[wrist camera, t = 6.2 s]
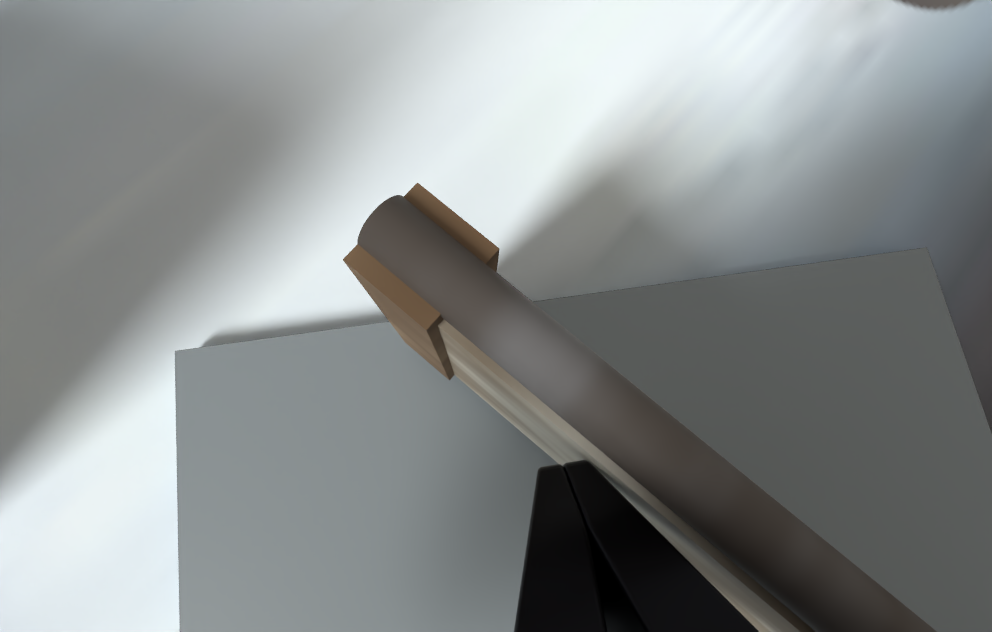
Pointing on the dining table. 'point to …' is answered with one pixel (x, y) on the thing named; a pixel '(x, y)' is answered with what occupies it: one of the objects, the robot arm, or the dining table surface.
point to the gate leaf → (606, 424)
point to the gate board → (516, 459)
